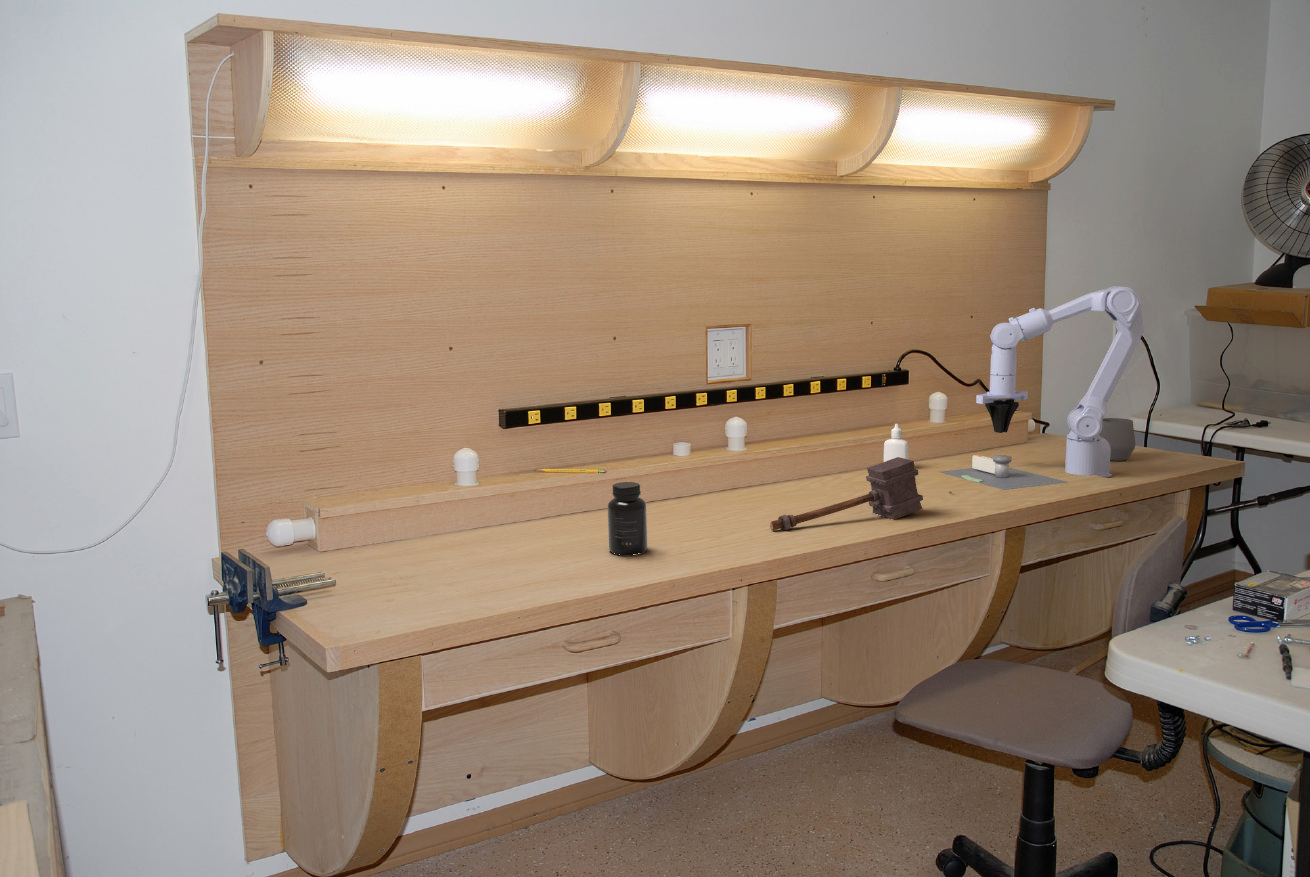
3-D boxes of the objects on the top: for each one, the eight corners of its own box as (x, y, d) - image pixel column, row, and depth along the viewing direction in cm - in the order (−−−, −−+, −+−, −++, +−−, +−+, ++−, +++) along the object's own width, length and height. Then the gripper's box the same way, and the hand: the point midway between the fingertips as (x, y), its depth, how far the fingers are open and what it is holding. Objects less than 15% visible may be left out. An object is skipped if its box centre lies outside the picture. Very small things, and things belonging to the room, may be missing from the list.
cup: (1085, 457, 253) (1087, 418, 252) (1116, 455, 256) (1119, 416, 254) (1110, 463, 244) (1113, 423, 243) (1143, 461, 247) (1145, 421, 245)
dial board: (998, 469, 240) (999, 463, 240) (1068, 486, 220) (1068, 480, 220) (938, 475, 233) (938, 470, 233) (1004, 494, 213) (1004, 488, 213)
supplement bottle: (610, 545, 178) (608, 480, 176) (648, 545, 177) (647, 480, 175) (607, 556, 171) (605, 488, 169) (646, 556, 171) (645, 488, 169)
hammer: (925, 508, 196) (918, 460, 193) (786, 561, 184) (777, 511, 182) (903, 501, 202) (897, 455, 200) (767, 552, 190) (758, 504, 188)
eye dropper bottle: (894, 470, 240) (895, 421, 238) (910, 474, 236) (912, 424, 234) (880, 472, 238) (881, 423, 236) (896, 476, 233) (897, 426, 231)
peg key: (1014, 477, 225) (1015, 457, 225) (1000, 478, 224) (1001, 459, 223) (981, 468, 235) (982, 449, 235) (968, 470, 234) (968, 451, 233)
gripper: (1012, 371, 238) (1009, 427, 240) (967, 375, 231) (965, 432, 234) (1035, 373, 232) (1032, 431, 234) (990, 377, 225) (987, 436, 227)
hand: (1000, 432), depth 233 cm, fingers closed
